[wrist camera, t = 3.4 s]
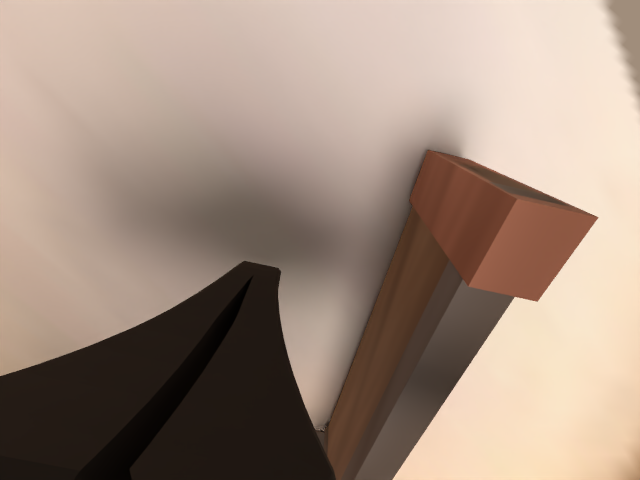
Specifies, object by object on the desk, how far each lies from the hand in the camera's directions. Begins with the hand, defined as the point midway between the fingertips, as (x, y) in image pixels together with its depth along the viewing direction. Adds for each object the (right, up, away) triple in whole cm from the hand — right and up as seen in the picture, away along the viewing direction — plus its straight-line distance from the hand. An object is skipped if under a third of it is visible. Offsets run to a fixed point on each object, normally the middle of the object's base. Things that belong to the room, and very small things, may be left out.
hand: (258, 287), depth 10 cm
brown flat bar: (+5, -3, +3) cm, 6 cm away
